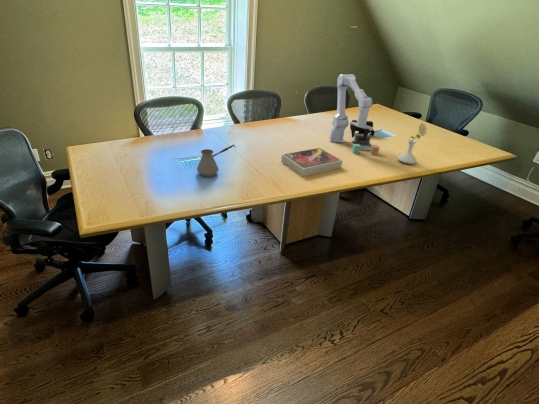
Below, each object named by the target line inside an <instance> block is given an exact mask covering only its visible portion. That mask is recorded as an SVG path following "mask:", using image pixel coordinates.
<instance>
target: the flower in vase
mask: <svg viewBox="0 0 539 405" xmlns="http://www.w3.org/2000/svg"><path fill="white" fill-rule="evenodd" d="M427 131H428V130H427V125H425V123H424V122H423V123H422V122H421V123H420V124H419V125H418V132H417V133H416V135H414V137H413V135H411V136H410V139H408V140H407V142H408V149H407V151H406V152H404V153H402V154H399V155H398V157H397V160H398V161H399V162H401V163H403V164H406V165H407V164H408V165H413V164H415V163H417V158H416V157H415V155H414V154H413V152H412V151H413V148H414V145H415V144H416V143H417V140H415V139H416V138H417V139H418V140H419V139H421V138H422V137H425V136H426V135H427Z"/></svg>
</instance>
